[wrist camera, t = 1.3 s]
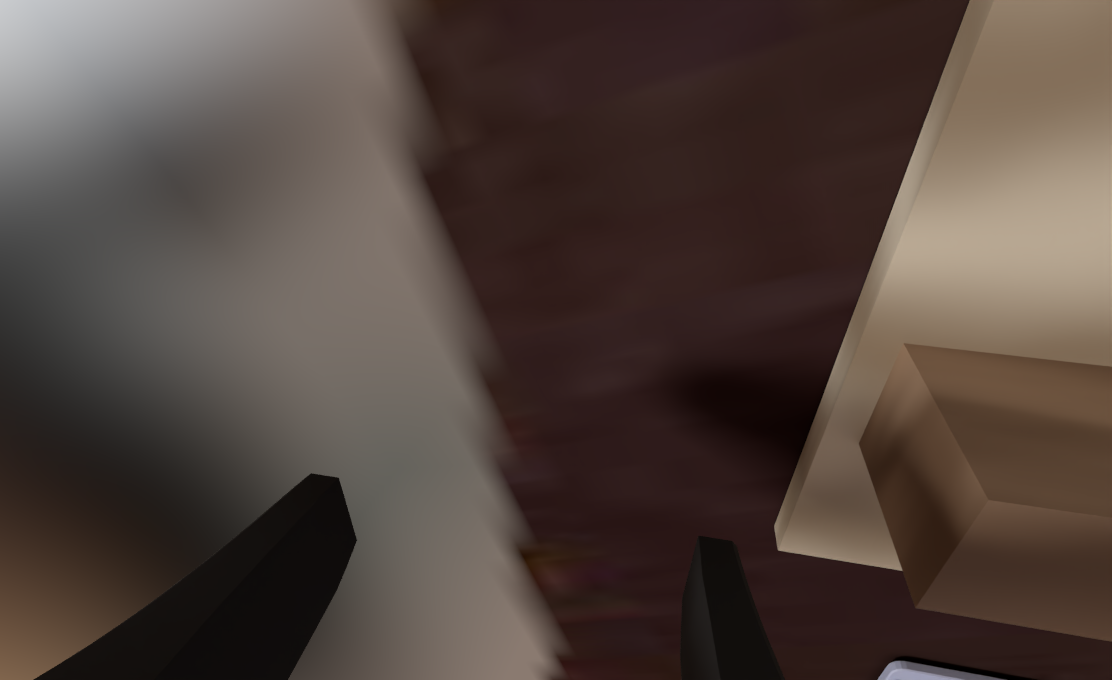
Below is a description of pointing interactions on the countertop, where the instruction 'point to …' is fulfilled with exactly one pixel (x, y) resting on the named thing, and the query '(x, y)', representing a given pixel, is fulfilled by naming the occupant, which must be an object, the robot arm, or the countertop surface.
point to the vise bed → (976, 245)
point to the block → (998, 486)
